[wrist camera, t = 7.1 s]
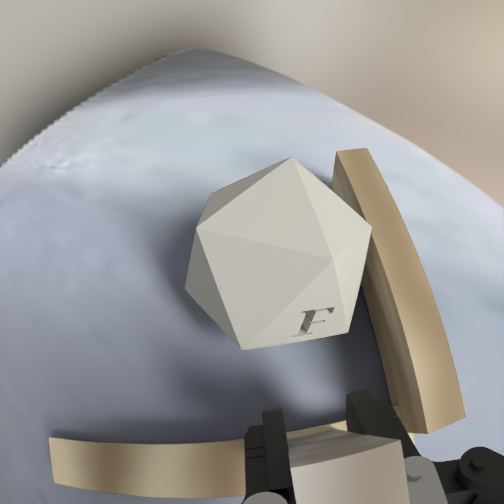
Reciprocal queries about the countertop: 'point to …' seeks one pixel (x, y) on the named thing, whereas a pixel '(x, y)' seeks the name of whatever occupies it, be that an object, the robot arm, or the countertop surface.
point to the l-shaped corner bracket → (325, 436)
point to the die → (278, 258)
